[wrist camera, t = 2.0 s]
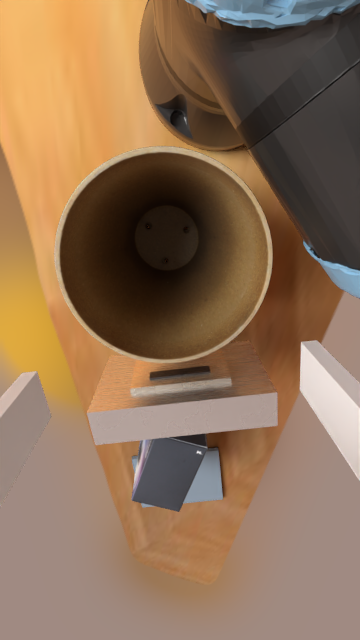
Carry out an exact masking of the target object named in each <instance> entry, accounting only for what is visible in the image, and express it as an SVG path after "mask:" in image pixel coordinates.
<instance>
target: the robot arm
mask: <svg viewBox="0 0 360 640" xmlns="http://www.w3.org/2000/svg"><path fill="white" fill-rule="evenodd" d="M139 61H140V69H141V74H142V79H143V83H144V87H145V90H146V94H147V96H148V99H149V101H150V104H151V106H152V108H153V110H154V112H155V113H156V115H157V116H158V118H159V119H160V121H161V122H162V123H163V124H164V126H165V127H166V128H167V129H168V130H169V131H170V132H171V133H172V134H173V135H175V136H176V137H177V138H179V139H180V140H182V141H183V142H185V143H187V144H189V145H191V146H194V147H196V148H200V149H204V150H211V151H222V150H229V149H233V148H237V147H240V146H242V145H244V144H245V145H246V147H247V149H248V152H249V153H250V155H251V157H252V158H253V160H254V161H255V163H256V165H257V166H258V168H259V169H260V171H261V173H262V174H263V176H264V177H265V179H266V181H267V182H268V184H269V185H270V187H271V189H272V190H273V192H274V193H275V195H276V197H277V198H278V200H279V201H280V203H281V205H282V206H283V208H284V209H285V211H286V213H287V214H288V216H289V217H290V219H291V221H292V222H293V224H294V225H295V227H296V229H297V230H298V232H299V233H300V235H301V237H302V238H303V244H304V246H305V248H306V250H307V252H308V253H309V254H310V255H311V256H312V257H313V258H314V259H316V260H317V261H318V262H319V263H320V264H321V266H322V267H323V269H324V270H325V271H326V273H327V274H328V276H329V277H330V279H331V280H332V281H333V282H334V283H335V284H336V285H337V286H338V287H339V288H340V289H342V290H345V291H346V292H348V293H349V294H351V295H352V296H355V297H357V298H359V299H360V0H148V2H147V4H146V7H145V10H144V14H143V18H142V23H141V29H140V37H139ZM300 391H301V392H302V394H303V395H304V397H305V398H306V400H307V401H308V403H309V404H310V406H311V408H312V409H313V411H314V412H315V413H316V415H317V416H318V418H319V420H320V421H321V423H322V424H323V426H324V427H325V429H326V430H327V432H328V433H329V435H330V436H331V438H332V439H333V441H334V442H335V444H336V446H337V447H338V449H339V450H340V451H341V453H342V455H343V456H344V458H345V459H346V461H347V462H348V464H349V465H350V467H351V468H352V470H353V471H354V473H355V475H356V476H357V478H358V479H359V481H360V383H359V382H358V381H357V380H356V379H355V378H354V377H353V376H352V375H351V374H350V373H349V372H348V371H347V370H346V369H345V368H344V367H343V366H342V365H341V364H340V363H339V362H338V361H337V360H336V359H335V358H334V357H333V356H332V355H331V354H330V353H329V352H328V351H327V350H326V349H325V348H324V347H323V346H322V345H321V344H320V343H319V342H318V341H317V340H314V341H305V342H301V365H300ZM50 418H51V414H50V410H49V407H48V404H47V401H46V398H45V395H44V392H43V388H42V385H41V382H40V379H39V376H38V373H37V371H36V372H27V373H22V374H21V375H20V376H19V377H18V378H17V379H16V381H15V382H14V383H13V384H12V385H11V386H10V387H9V389H8V390H7V391H6V392H5V393H4V394H3V395H2V397H1V398H0V507H1V506H2V504H3V502H4V500H5V498H6V497H7V495H8V493H9V491H10V489H11V488H12V486H13V484H14V482H15V481H16V479H17V477H18V475H19V473H20V472H21V470H22V468H23V466H24V464H25V463H26V461H27V459H28V457H29V455H30V454H31V452H32V450H33V449H34V447H35V445H36V443H37V441H38V439H39V438H40V436H41V434H42V432H43V431H44V429H45V427H46V425H47V424H48V422H49V420H50Z"/></svg>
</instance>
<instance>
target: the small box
mask: <svg viewBox="0 0 360 640" xmlns="http://www.w3.org/2000/svg"><path fill="white" fill-rule="evenodd" d="M207 449H208V447H207V438H206V433H205V434H195V435H186V436H176V437H167V438H157V439H148V440H140V446H139V452H138V459H137V465H136V472H135V479H134V486H133V492H132V501H136V502H139V503H144V504H148V505H152V506H157V507H161V508H165V509H170V510H174V511H177V512H179V511H180V509H181V507H182V505H183V502H184V500H185V498H186V496H187V494H188V491H189V489H190V487H191V485H192V483H193V480H194V478H195V476H196V474H197V472H198V469H199V467H200V465H201V463H202V460H203V458H204V456H205V454H206V452H207Z"/></svg>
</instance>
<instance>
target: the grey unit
mask: <svg viewBox="0 0 360 640" xmlns="http://www.w3.org/2000/svg"><path fill="white" fill-rule="evenodd" d="M236 337H237V336H236ZM87 415H88V419H89V423H90V427H91V430H92V434H93V438H94V442H95V445H100V444H110V443H119V442H129V441H138V440H148V439H157V438H167V437H176V436H186V435H195V434H205V433H214V432H223V431H233V430H242V429H252V428H261V427H271V426H277V391H276V389H275V387H274V385H273V383H272V382H271V380H270V378H269V376H268V374H267V372H266V370H265V368H264V367H263V365H262V363H261V361H260V359H259V357H258V355H257V353H256V352H255V350H254V348H253V346H252V344H251V342H250V340H249V341H240V342H231V343H228V344H226V345H225V346H223V347H221V348H220V349H218V350H216V351H214V352H212V353H210V354H208V355H206V356H203V357H200V358H197V359H193V360H189V361H184V362H177V363H152V362H146V361H141V360H137V359H133V358H130V357H127V356H124V355H115V356H110V357H109V359H108V362H107V364H106V367H105V369H104V372H103V374H102V377H101V379H100V382H99V384H98V387H97V389H96V392H95V394H94V397H93V399H92V401H91V404H90V406H89V409H88V411H87Z"/></svg>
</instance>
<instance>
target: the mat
mask: <svg viewBox="0 0 360 640" xmlns="http://www.w3.org/2000/svg"><path fill="white" fill-rule="evenodd" d="M137 459H138V456H132V463H133V467H134V472H136V465H137ZM221 499H223V494H222V483H221V472H220V461H219V450H218V448H208V449H207V452H206V454H205V456H204V458H203V460H202V463H201V465H200V467H199V469H198V472H197V474H196V476H195V478H194V480H193V483H192V485H191V487H190V489H189V491H188V494H187V496H186V498H185V500H184V502H183V503H191V502H201V501H211V500H221ZM141 504H142V507H151V506H152V505H148V504H144V503H141Z"/></svg>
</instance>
